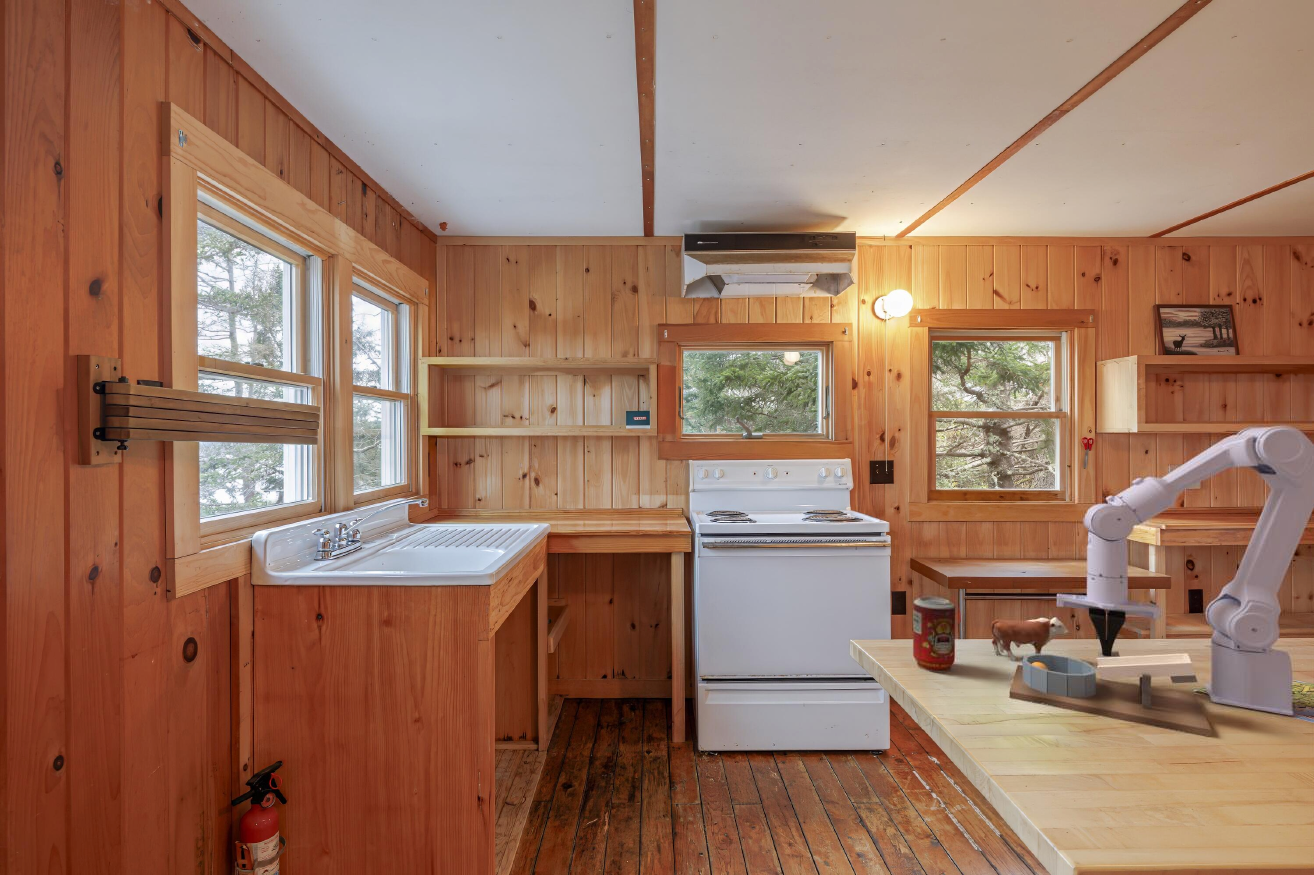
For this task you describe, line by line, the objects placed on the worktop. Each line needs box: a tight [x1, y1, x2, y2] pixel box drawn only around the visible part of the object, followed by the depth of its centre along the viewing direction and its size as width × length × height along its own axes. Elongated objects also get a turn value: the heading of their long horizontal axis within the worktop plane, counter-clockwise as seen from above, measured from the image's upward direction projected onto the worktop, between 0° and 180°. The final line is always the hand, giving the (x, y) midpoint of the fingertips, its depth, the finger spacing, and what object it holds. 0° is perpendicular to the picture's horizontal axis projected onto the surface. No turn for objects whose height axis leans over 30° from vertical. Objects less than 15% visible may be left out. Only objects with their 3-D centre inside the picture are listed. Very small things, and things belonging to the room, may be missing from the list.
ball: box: [1032, 662, 1049, 671], centre depth 110 cm, size 3×3×3 cm
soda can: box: [912, 595, 956, 673], centre depth 120 cm, size 7×7×12 cm
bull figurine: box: [990, 617, 1070, 661], centre depth 124 cm, size 4×13×8 cm, turn 79°
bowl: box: [1022, 653, 1097, 698], centre depth 108 cm, size 10×10×4 cm
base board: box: [1009, 664, 1212, 738], centre depth 105 cm, size 25×15×6 cm, turn 57°
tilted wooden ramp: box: [1096, 650, 1198, 684], centre depth 105 cm, size 12×13×3 cm
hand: (1106, 654), depth 111 cm, fingers closed
